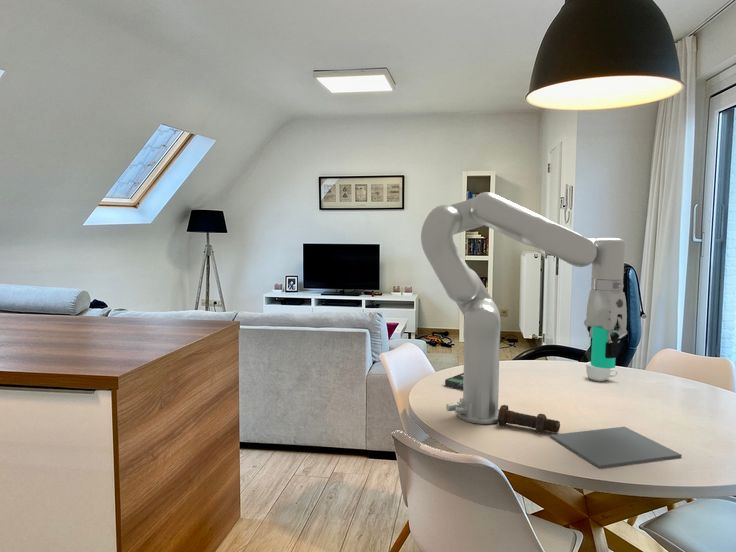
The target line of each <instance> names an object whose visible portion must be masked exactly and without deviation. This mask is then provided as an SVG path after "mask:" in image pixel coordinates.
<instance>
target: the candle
mask: <svg viewBox="0 0 736 552" xmlns="http://www.w3.org/2000/svg"><path fill="white" fill-rule="evenodd" d="M614 330H615V328H614ZM614 334H615V333H612V336H613V335H614ZM606 343H608V340H607V331H606V330H604V329H602V328H599V327H594V326H593V330H592V350H591V353H590V354H591V355H590V362H591V365H592V366H594V367H598V368H611V369H615V368H616V359H617V357H616V358H606V357H605V350H606Z"/></svg>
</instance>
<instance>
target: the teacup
mask: <svg viewBox="0 0 736 552" xmlns="http://www.w3.org/2000/svg"><path fill="white" fill-rule="evenodd" d="M585 365H586V366H585V368H586V369H585V370H586V375H587V377H588V378H589V379H590V380H592V381H593V382H594V381H595V382H605V381H607V380H608V379H609V378H614V377H616V376H617V375H618V370H617V369H615V368H598V367H594V366H592V365H591V361H588V362H586V364H585ZM613 371H615V374H614V375H611V373H612V372H613Z"/></svg>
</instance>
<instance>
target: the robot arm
mask: <svg viewBox="0 0 736 552" xmlns="http://www.w3.org/2000/svg"><path fill="white" fill-rule="evenodd" d="M483 226H484V227H488V228H490V229H492V230H494V231H496V232H498V233H500V234H502V235H504V236H507V237H509V238H511V239H512V240H515V241H516V242H519V243H521V244H522V245H526V246H529V247H532V248H535V249H538V250H540V251H543V252H545V253H547V254H549V255H550V256H554V257H555V258H557V259H560V260H561V261H563V262H566V263H567V264H569V265H571V266H574V267H577V268H586V267H588V266H589V265H591V276H590V278H591V281H590V290H589V293H588V294H589V295H588V300H587V306H586V315H585V316H586V318H585V320H584V321H583V325H584V326H585V328H586V329H587V331H588V337H589V338H590V343H589V344H590V346H589V347H590V348H589V350H590V351H589V352H590V354H591V350H592V330H593V326H594V327H599V328H602V329H604V330H606V331H607V340H608V343H606V350H605V357H606V358H616V359H617V358H618V343H620V342H621V340H622V339H623V337H626V335H628V330H627V324H628V323H627V322H628V320H627V319H628V312H627V311H628V307H627V299H626V295H625V294H626V293H625V292H624V286H625V284H624V270H625V269H624V268H625V254H626V253H625V251H626V242H625V241H624V239H622V238H617V237H598V238H588V237H586V236H584V235H582V234H580V233H578V232H576V231H573V230H571V229H570V228H567V227H564V226H563V225H560V224H558V223H557V222H553V221H552V220H550V219H548V218H546V217H544V216H542V215H540V214H538V213H536V212H534V211H532V210H529V209H528V208H526V207H523V206H521V205H518V203H514V202H512V201H511V200H507V199H506V198H504V197H501V196H499V195H498V194H495V193H492V192H488V191H485V192H481V193H478V194H476V196H475V197H472V198H469V199H466V200H463V201H460V202H457V203H452V204H449V205H448V204H441V205H437V206H436V207H435V208H432V210H431V211H430V212H429V213H428V215H427V217H426V218H425V220H424V222H423V225H422V227H421V232H420V241H421V246H422V250H423V252H424V255H425V257H426V259H427V261H428V262H429V264H430V266H431V268H432V269H433V271H434V273H435V274H436V277H437V278H438V280H439V282H440V283H441V285H442V287H443V289H444V290H445V293H446V295H447V296H448V298H449V299H450V300H451V301H453V302H455V303H456V306H457V307H458V309H459V310H460V312H461V313H462V315H463V316H464V319H463V373H464V380H463V390H462V393H463V394H462V396H463V397H462V398H459V401H457V402H456V403H447V404H446V411H447V412H453V411H454V413H455V414H456V415H457V416H458V418H459V419H461V420H463V421H465V422H467V423H468V422H469V423H472V424H478V425H479V424H481V425H493V424H496V423H497V424H498V413H499V409H500V408H499V390H500V389H499V387H500V385H499V384H500V380H499V379H500V342H501V329H502V327H501V315H500V311H499V308H498V306H497V304H496V303H495V302H494V299H493V298H492V297H491V295H490V293H489V291H488V290H487V288H486V286H485V285H484V283H483V281H482V280H481V277H479V275H478V274H477V272H476V271H475V270H473V268H470V267H469V265H468V264H467V263H466V261H465V260H464V258H463V256H462V254H461V252H460V250H459V249H458V247H457V246H456V244H455V242H454V235H457V234H461V233H464V232H467V231H470V230H474V229H478V228H480V227H481V228H482V227H483ZM614 328H615V330H614ZM612 333H615V334H614V335H613V336H612Z"/></svg>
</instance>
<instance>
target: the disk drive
mask: <svg viewBox="0 0 736 552" xmlns="http://www.w3.org/2000/svg"><path fill="white" fill-rule="evenodd" d="M463 380H464V372H462V373H460V374H457V375H456V374H455V376H452V377H448V378H447V379H445V381H444V387H447V386H449V387H448V388H451V387H453V388H452V389H455V388H457V389H456V390H460V389H461V391H463Z"/></svg>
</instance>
